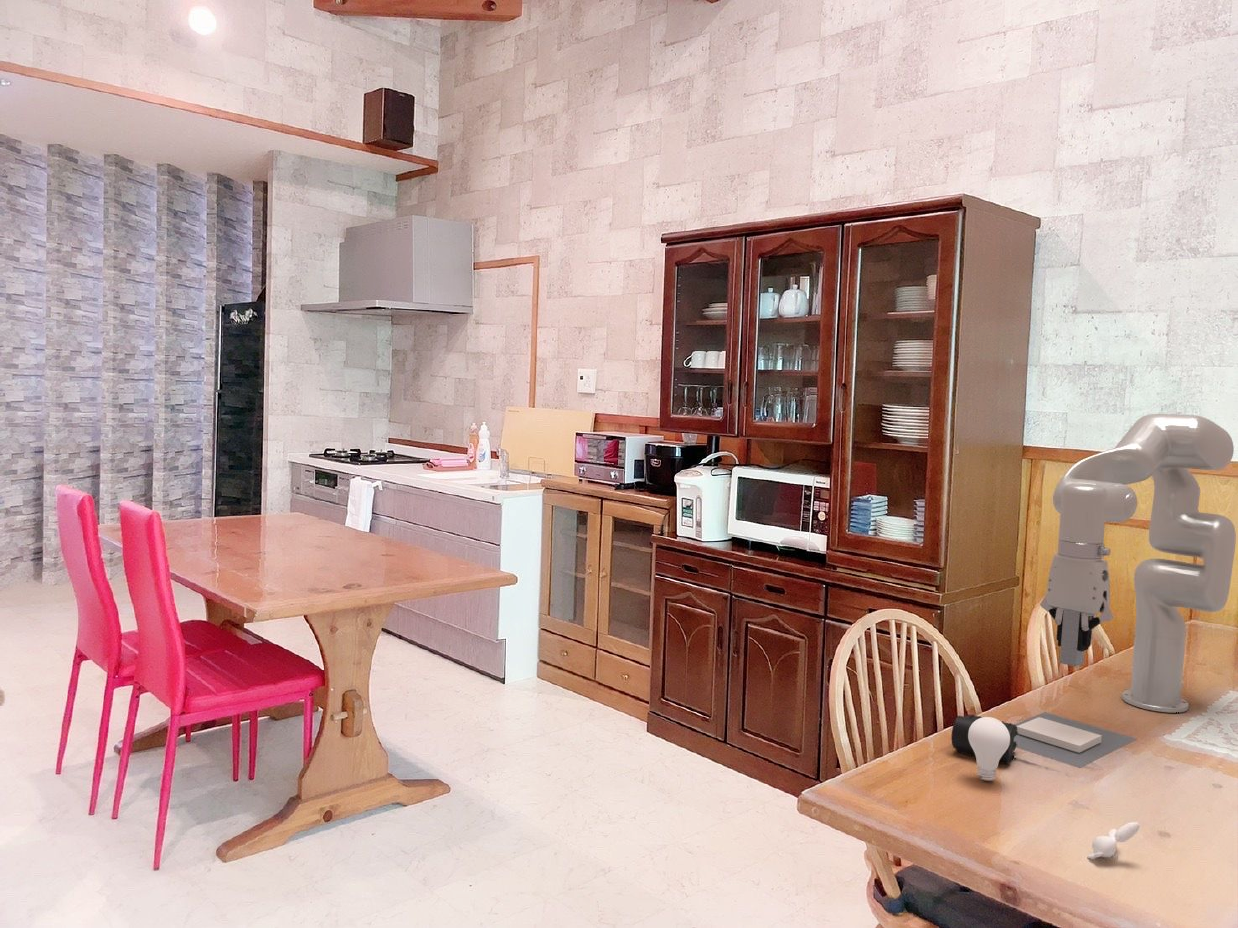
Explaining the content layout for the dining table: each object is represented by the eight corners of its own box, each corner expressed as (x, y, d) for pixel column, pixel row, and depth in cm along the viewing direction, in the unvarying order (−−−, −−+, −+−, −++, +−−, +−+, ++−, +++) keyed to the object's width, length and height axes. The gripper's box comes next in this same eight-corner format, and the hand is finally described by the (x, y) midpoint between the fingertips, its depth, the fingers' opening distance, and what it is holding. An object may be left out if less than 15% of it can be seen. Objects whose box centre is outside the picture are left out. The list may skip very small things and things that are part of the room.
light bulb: (987, 792, 157) (992, 727, 156) (956, 776, 162) (960, 714, 162) (1015, 785, 160) (1020, 721, 159) (984, 770, 166) (988, 709, 165)
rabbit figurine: (1072, 850, 137) (1109, 819, 140) (1091, 875, 136) (1128, 843, 138) (1094, 846, 132) (1132, 814, 134) (1115, 872, 131) (1152, 838, 133)
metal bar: (1067, 660, 179) (1072, 598, 178) (1083, 664, 177) (1088, 601, 176) (1059, 662, 177) (1064, 599, 177) (1075, 666, 175) (1080, 603, 174)
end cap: (949, 755, 172) (952, 719, 172) (962, 744, 178) (964, 709, 177) (1007, 770, 166) (1009, 733, 166) (1018, 758, 172) (1020, 722, 171)
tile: (1039, 717, 187) (1016, 726, 181) (1101, 735, 178) (1079, 745, 172) (1038, 724, 187) (1015, 734, 181) (1101, 743, 178) (1079, 754, 172)
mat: (1044, 716, 195) (1045, 712, 195) (1137, 743, 181) (1137, 738, 181) (983, 741, 180) (983, 736, 179) (1079, 773, 166) (1079, 767, 166)
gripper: (1135, 555, 172) (1127, 655, 173) (1047, 542, 184) (1040, 635, 186) (1116, 559, 167) (1108, 661, 168) (1027, 545, 180) (1021, 640, 181)
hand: (1073, 646), depth 177 cm, fingers closed on metal bar, 3 cm apart
